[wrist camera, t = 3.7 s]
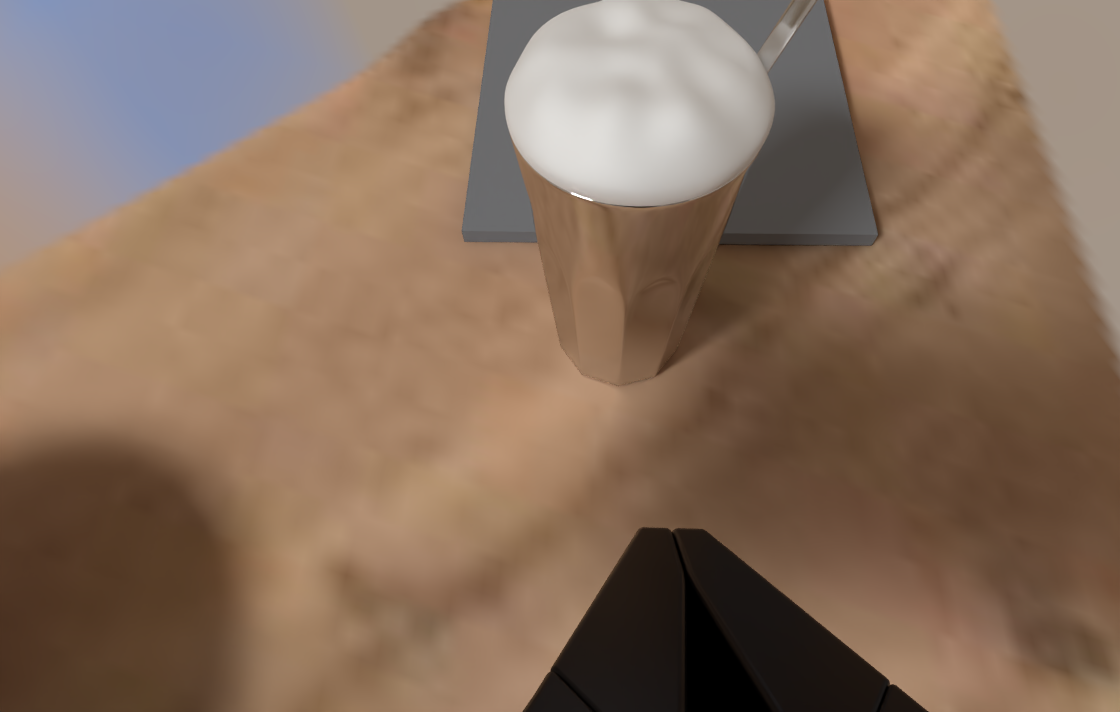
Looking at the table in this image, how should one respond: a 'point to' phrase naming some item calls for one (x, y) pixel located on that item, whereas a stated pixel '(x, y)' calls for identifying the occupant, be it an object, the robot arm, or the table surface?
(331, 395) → the table surface
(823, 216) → the mat
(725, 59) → the milkshake
